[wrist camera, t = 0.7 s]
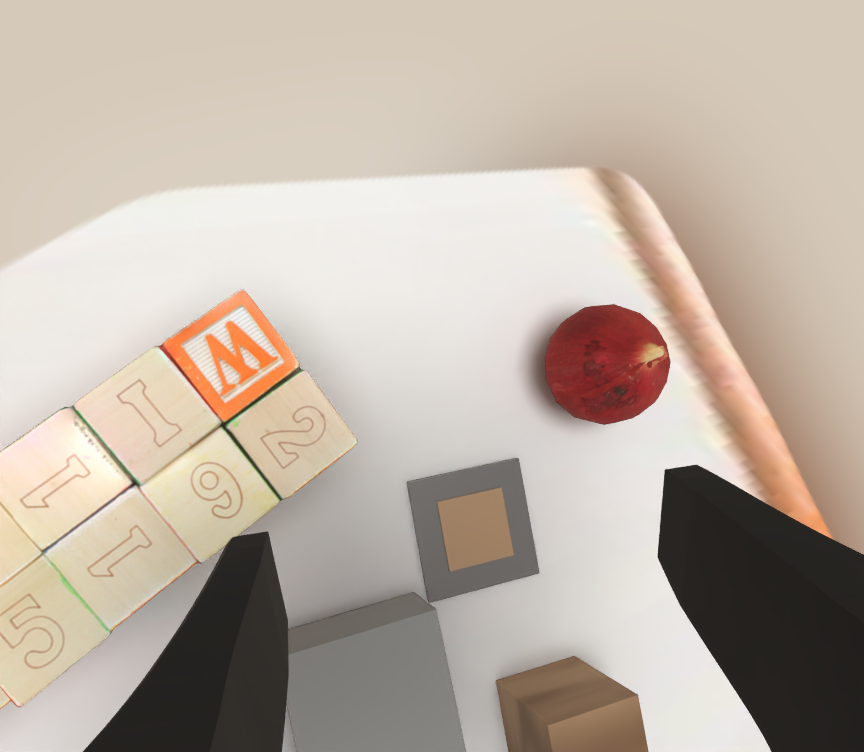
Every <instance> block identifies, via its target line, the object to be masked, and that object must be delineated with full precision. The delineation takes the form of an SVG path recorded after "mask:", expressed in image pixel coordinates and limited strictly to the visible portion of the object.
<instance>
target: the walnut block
mask: <svg viewBox="0 0 864 752" xmlns="http://www.w3.org/2000/svg"><path fill="white" fill-rule="evenodd" d="M496 685H497V690H498V696H499V701H500V707H501V712H502V718H503V723H504V729H505V735H506V740H507V746H508V751H509V752H648V747H647V741H646V736H645V730H644V725H643V720H642V714H641V709H640V703H639V698H638V695H637V694H636V693H634V692H632V691H631V690H629V689H627V688H626V687H624V686H623V685H621V684H619V683H618V682H616V681H614V680H613V679H611V678H609V677H608V676H606V675H605V674H603V673H601V672H600V671H598V670H596V669H595V668H593V667H592V666H590V665H588V664H587V663H585V662H583V661H582V660H580V659H578V658H577V657H575V656H573V657H570V658H566V659H563V660H560V661H557V662H554V663H550V664H547V665H544V666H541V667H538V668H534V669H531V670H528V671H525V672H522V673H518V674H515V675H512V676H509V677H506V678H502V679H499V680H496Z"/></svg>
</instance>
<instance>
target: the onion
mask: <svg viewBox="0 0 864 752" xmlns="http://www.w3.org/2000/svg"><path fill="white" fill-rule="evenodd" d="M545 367H546V380H547V382H548V384H549V387H550V389H551V391H552V393H553V395H554V397H555V400H556V402H557V403H558V404H559V405H561V406H562V407H563V408H564V409H565V410H567V411H568V412H569V413H570V414H571V415H572V416H574V417H576V418H580V419H583V420H587V421H591V422H595V423H599V424H603V425H605V424H611V423H616V422H619V421H623V420H627V419H631V418H634V417H635V416H637V415H639V414H640V413H642V412H643V411H644V410H646V409H647V408H648V407H649V406H651V405H652V404H653V403H655V401H656V400H657V399H658V397H659V395H660V393H661V391H662V390H663V388H664V386H665V384H666V382H667V378H668V373H669V368H670V358H669V354H668V349H667V344H666V342H665V341H664V339H663V337H662V336H661V334H660V332H659V331H658V329H657V328H656V327H655V326H654V325H653V324H652V323H651V322H650V321H649V320H647V319H646V318H645V317H644V316H643V315H642V314H640V313H638V312H635V311H632V310H629V309H626V308H623V307H621V306H617V305H614V304H613V305H601V306H591V307H585V308H583V309H581V310H580V311H578V312H577V313H575V314H574V315H572V316H570V317H569V318H567V319H566V320H565V321H564V322H563V323H561V325H560V326H559V327H558V329H557V330H556V332H555V333H554V334H553V336H552V337H551V338H550V342H549V345H548V349H547V353H546V356H545Z"/></svg>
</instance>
